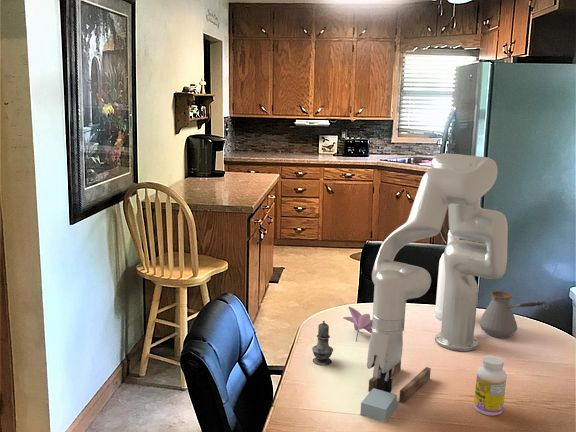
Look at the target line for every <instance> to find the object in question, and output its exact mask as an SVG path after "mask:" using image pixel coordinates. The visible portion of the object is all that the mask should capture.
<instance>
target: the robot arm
mask: <svg viewBox="0 0 576 432" xmlns="http://www.w3.org/2000/svg"><path fill="white" fill-rule="evenodd" d="M430 168H431V169H429V170H427V171H426V172H425V173H424V174H423V175H422V177H421V180H420V183H419V185H418V189H417V192H416V195H415V198H414V200H413V204H412V206H411V209H410V212H409V215H408V218H407V220H406V222H404V223H403V224H402V225H400V226H399V227H397V228H396V229H395V230H394V231H392V232H391V233H390V234H389V235H388V236H387V237H386V238H385V239H384V240H383V241H382V243H381V245H380V247H379V250H378V251H377V252H378V253H377V254H376V258H375V261H374V264H373V267H372V272H371V280H372V283H373V285H374V287H373V289H374V291H373V305H372V308H373V309H372V319H371V320H372V329H373V330H372V333H370V338H369V342H368V343H369V344H368V352H367V359H366V367H367V369H369V370H370V369H372V368H373V372H372V377H375V378H377V389H378V390H382V391H386V392H389V393H392V388H393V387H392V386H393V377H394V375H393V373H394V367H395V365H396V364H398V363H399V362H400V360H401V361H402V356H403V345H404V344H403V343H404V342H403V338H404V337H403V335H404V334H403V332H404V330H405V322H406V321H405V320H406V319H405V318H406V306H407V300H411V299H417V298H421V297H422V296H424V295H425V294H426V293H427V292H428V291H429V289H430V287H431V284H432V277H431V274H430V273H429V271H428V270H427V269H425V268H423V267H421V266H417V265H413V264H408V263H404V262H399V261H395V258H396V255H397V254H398V253H399V251H400V250H401V249H403V248H404V247H405V246H406V245H408V244H411V243H413V242H416V241H420V240H422V239H423V240H424V239H428V238H432V237H435V236H437V235H439V234H440V232H441V230H442V227H443V225H444V221H445V218H446V215H447V212H448V228H449V229H448V230H450V233H451V234H452V235H453V236H454V237H456V238H459V240H454V241H451V242H450V243H448V242H447V244H446V246H445V248H444V252H443V253H444V262H445V292H444V303H443V315H442V321H441V329H440V332H438V333H436V334H435V338H434V339H435V341H434V342H436V344H438V345H439V346H441V347H443V348H445V349H448V350H452V351H456V352H457V351H458V352H469V351H473V350H475V349H477V348H478V347H479V344H480V342H479V340H478V339H477V338H476V337H475V327H476V315H477V306H478V296H479V286H478V283H477V280H476V279H475V277H479V278H484V279H489V280H499V279H501V278H502V277H503V276H504V275H505V273H506V270H507V264H508V239H509V237H508V230H509V229H508V221H507V220H508V219H507V217H506V216H505V214H504V213H503V212H501V211H498V210H494V209H488V208H483V207H481V198H482V197H483V196H484V195H485V194H486V193H487V192H489V191H490V190H491V189H492V187H493V186H494V184H495V183H496V180H497V177H498V165H497V163H496V161H495V160H493V159H492V158H491V157H487V156H477V155H468V154H467V155H466V154H459V153H446V152H445V153H439V154H436V155H434V156H433V158H432V159H431V163H430ZM474 276H475V277H474Z"/></svg>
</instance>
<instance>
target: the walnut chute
mask: <svg viewBox="0 0 576 432" xmlns="http://www.w3.org/2000/svg"><path fill="white" fill-rule="evenodd" d="M401 365H402V359H401V360H400V362H399V363H398V364H396V365H395V367H394V373H393V376H395V375H396V374H397V373H398V372H400V371H401V369H402V368H401V367H402V366H401ZM430 379H431V368H430V367H428V366H425V368H424V369H422V370H421V371H420V372H419V373H418V374H416V376H414V377H413V378H412V379H411V380H410V381H409V382H407V383H406V384H405V385H404V386H403V387H402V388H401V389H399V396H398V397H399V398H398V399H399V400H398V402H399V403H402V404H404V403H406V402H407V401H408V400H409V399H410V398H411V397H412V396H414V395H415V394H416V393H417V391H419V390H420V389H421V388H422V387H423V386H424V385H425V384H426V383H427V382H428V381H429V380H430ZM373 388H375V389H377V378H375V377H373V376H372V377H371V378H369V380H368V390H367V391H368V392H370V391H371V390H372V389H373Z"/></svg>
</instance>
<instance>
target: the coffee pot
mask: <svg viewBox="0 0 576 432" xmlns="http://www.w3.org/2000/svg"><path fill="white" fill-rule="evenodd" d="M490 296H491V301H490V302H489V303H488V305H487V307H486V308H485V310H484V312H483V313H482V315H481V317H480V318H479V321H478V324H479V327H480V328H481V330H482V331H483V333H485V334H486V335H487V336H491V337H494V338H498V339H500V338H501V339H504V338H509V337H510V336H511V335H513V334H514V333H516V331H517V330H518V323H517V321H516V318H515V316H514V311H513V309H514V308H523V307H524V308H525V307H527V308H529V307H532V308H533V307H535V306H538V307H539V306H542V307H543V309H544V310H548V309H549V304H548V303H547V302H546V301H537V302H532V301H531V302H524V303H520V304H519V303H518V304H510V300H511V299H512V297H513V295H512V294H511V293H510V292H508V291H507V292H506V291H503V290H493V291H491V292H490ZM545 305H546V306H547V308H546V307H544V306H545Z"/></svg>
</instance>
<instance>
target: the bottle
mask: <svg viewBox="0 0 576 432" xmlns="http://www.w3.org/2000/svg"><path fill="white" fill-rule="evenodd" d="M454 240H460V238H456V237H454V236H453V235H452V234H451V233H450V229H448V233H447V244H448V243H450V242H451V241H454ZM437 274H438V275H437V287H436V297H435V298H436V299H435V309H434V318H436V319H437V320H439V321H441V322H442V315H443V303H444V292H445V262H444V252H442V254H441V257H440V258H439V263H438V273H437Z"/></svg>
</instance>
